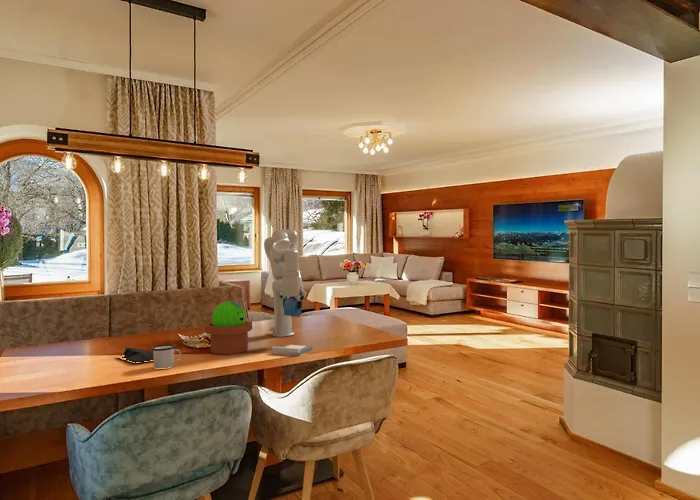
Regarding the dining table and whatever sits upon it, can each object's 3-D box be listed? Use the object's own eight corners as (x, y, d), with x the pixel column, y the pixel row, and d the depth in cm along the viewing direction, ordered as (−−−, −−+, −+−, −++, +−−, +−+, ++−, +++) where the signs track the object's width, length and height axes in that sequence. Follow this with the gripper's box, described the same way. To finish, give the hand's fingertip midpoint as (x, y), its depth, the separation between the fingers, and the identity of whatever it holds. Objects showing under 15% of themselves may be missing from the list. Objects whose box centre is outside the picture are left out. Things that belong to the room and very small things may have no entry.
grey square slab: (272, 353, 224) (272, 347, 224) (287, 347, 237) (287, 340, 237) (298, 356, 218) (298, 349, 218) (312, 349, 231) (312, 342, 231)
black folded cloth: (130, 367, 207) (129, 356, 207) (115, 358, 223) (114, 348, 223) (165, 361, 217) (164, 350, 217) (148, 353, 233) (147, 343, 233)
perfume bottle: (284, 314, 242) (283, 291, 242) (293, 313, 247) (292, 290, 246) (292, 316, 238) (291, 292, 237) (301, 314, 243) (300, 291, 242)
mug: (156, 371, 198) (155, 350, 197) (149, 367, 205) (148, 346, 205) (184, 366, 205) (184, 345, 205) (177, 362, 213) (176, 342, 212)
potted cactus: (196, 354, 226) (195, 302, 226) (224, 344, 247) (223, 296, 246) (235, 357, 218) (233, 303, 217) (260, 347, 239) (259, 297, 238)
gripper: (273, 274, 241) (273, 308, 242) (303, 275, 235) (303, 310, 235) (280, 273, 248) (281, 306, 249) (310, 273, 241) (310, 307, 242)
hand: (292, 308), depth 242 cm, fingers closed on perfume bottle, 7 cm apart
